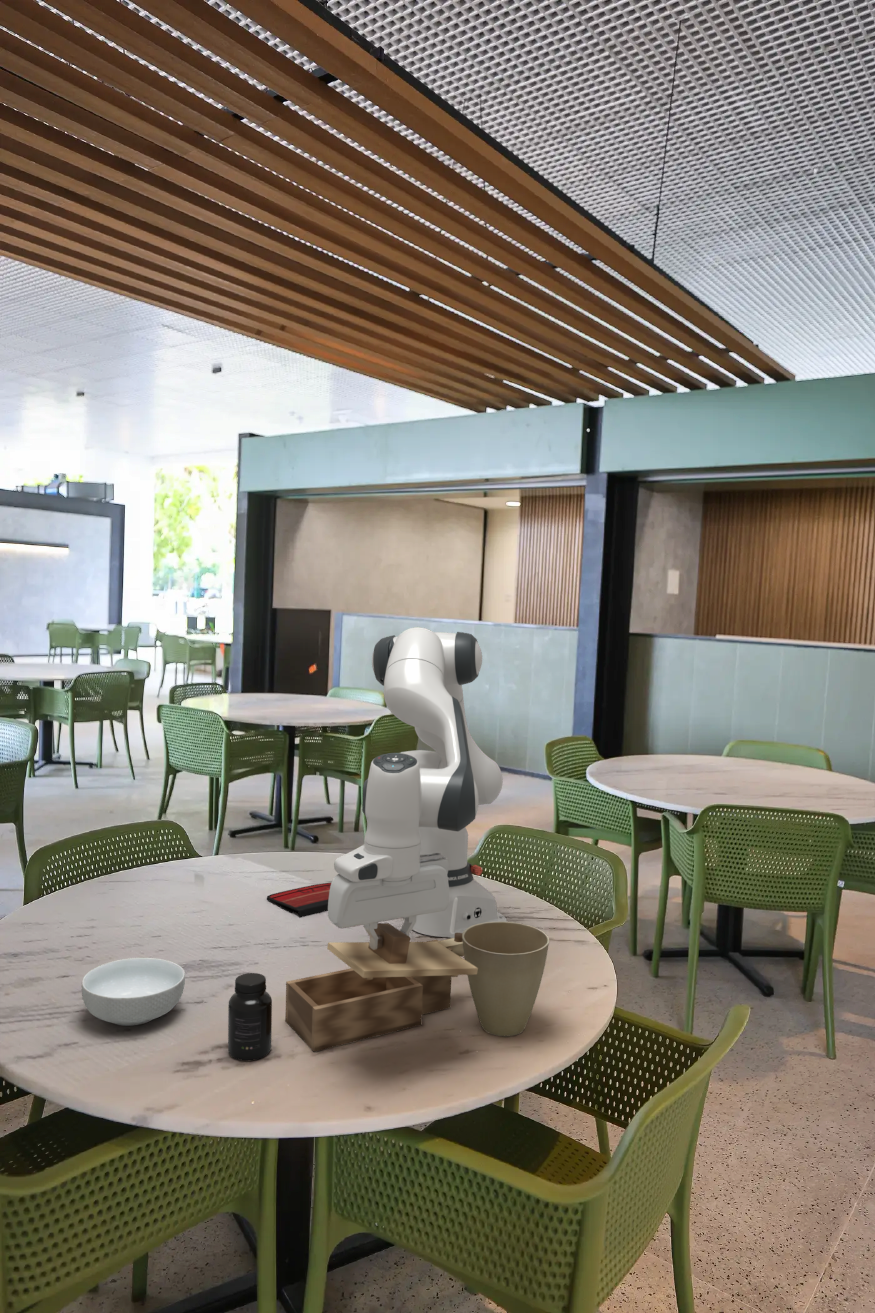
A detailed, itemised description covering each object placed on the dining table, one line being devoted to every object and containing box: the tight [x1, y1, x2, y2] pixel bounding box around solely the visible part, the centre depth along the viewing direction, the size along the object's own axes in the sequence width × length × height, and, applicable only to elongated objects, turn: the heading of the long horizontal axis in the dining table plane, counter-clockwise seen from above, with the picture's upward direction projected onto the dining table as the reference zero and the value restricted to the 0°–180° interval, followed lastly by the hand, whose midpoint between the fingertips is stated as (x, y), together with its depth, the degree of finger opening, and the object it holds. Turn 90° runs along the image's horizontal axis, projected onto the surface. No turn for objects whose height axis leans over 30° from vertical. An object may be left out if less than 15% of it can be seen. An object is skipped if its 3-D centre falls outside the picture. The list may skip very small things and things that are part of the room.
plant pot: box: [462, 921, 550, 1037], centre depth 159 cm, size 15×15×16 cm
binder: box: [266, 881, 332, 919], centre depth 222 cm, size 16×2×21 cm
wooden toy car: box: [436, 933, 464, 958], centre depth 168 cm, size 9×3×4 cm, turn 122°
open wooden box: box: [284, 939, 452, 1053], centre depth 161 cm, size 28×12×11 cm, turn 122°
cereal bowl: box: [81, 957, 186, 1027], centre depth 159 cm, size 17×17×7 cm
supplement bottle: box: [227, 972, 273, 1062], centre depth 148 cm, size 7×7×12 cm
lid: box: [326, 922, 478, 980], centre depth 147 cm, size 21×13×6 cm, turn 122°
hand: (389, 945), depth 146 cm, fingers closed on lid, 3 cm apart
